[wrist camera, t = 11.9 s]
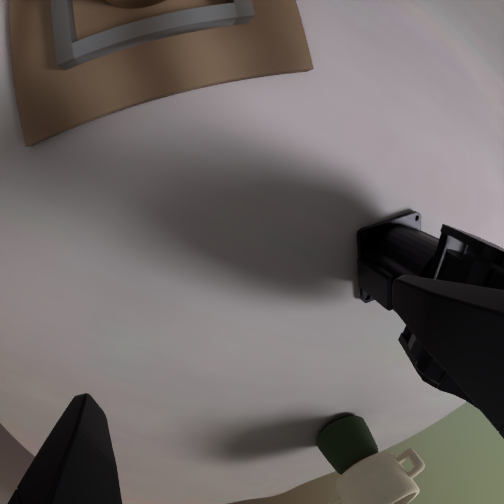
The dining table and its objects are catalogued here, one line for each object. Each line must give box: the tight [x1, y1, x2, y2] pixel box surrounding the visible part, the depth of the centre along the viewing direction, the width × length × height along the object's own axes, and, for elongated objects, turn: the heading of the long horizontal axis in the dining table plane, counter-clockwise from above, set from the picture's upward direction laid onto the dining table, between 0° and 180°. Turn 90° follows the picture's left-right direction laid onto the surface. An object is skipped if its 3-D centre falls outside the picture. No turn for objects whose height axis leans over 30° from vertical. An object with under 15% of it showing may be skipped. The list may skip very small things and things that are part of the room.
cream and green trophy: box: [316, 416, 425, 504], centre depth 26 cm, size 11×7×13 cm, turn 128°
